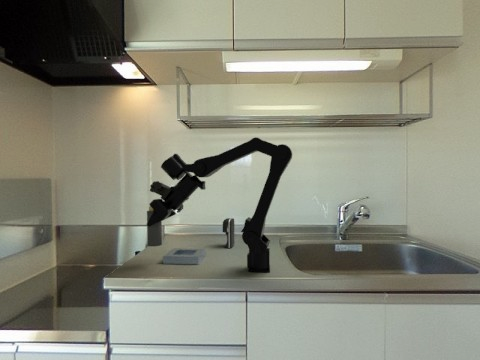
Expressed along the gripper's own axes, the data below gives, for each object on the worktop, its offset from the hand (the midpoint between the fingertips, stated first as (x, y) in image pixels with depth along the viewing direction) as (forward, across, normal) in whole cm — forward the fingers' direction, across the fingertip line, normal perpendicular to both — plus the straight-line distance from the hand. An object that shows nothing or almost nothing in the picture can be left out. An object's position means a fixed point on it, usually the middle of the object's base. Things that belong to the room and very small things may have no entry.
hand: (150, 224), depth 111 cm
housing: (+3, -8, +16) cm, 18 cm away
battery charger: (-6, -30, +25) cm, 39 cm away
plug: (+4, 0, +6) cm, 7 cm away
